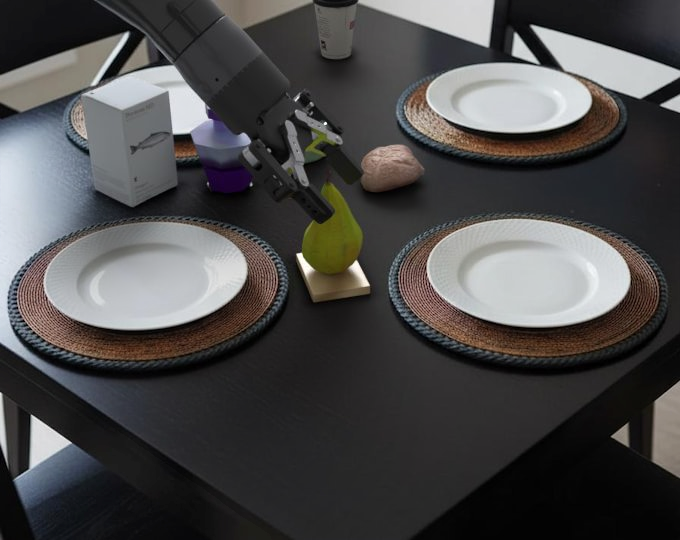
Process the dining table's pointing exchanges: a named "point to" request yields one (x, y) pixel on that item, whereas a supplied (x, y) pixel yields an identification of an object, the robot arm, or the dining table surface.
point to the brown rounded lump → (389, 168)
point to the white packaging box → (130, 140)
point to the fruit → (333, 236)
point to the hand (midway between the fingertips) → (343, 198)
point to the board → (333, 282)
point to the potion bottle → (221, 156)
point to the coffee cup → (335, 26)
